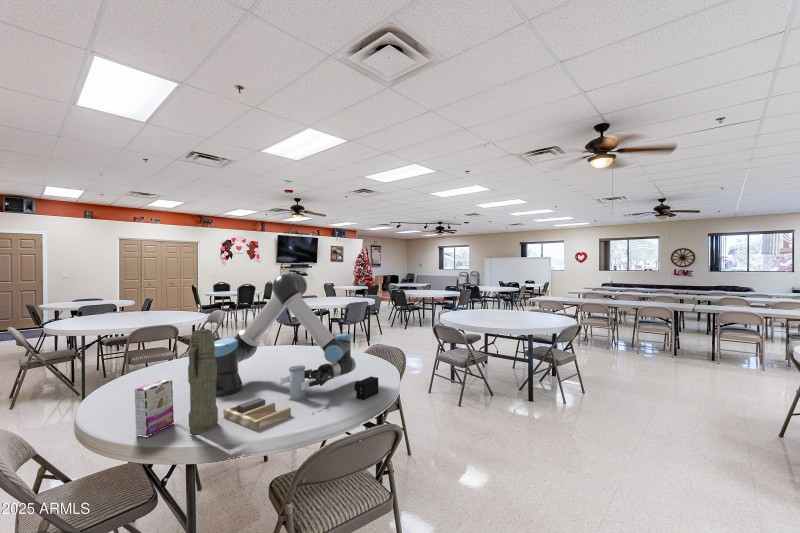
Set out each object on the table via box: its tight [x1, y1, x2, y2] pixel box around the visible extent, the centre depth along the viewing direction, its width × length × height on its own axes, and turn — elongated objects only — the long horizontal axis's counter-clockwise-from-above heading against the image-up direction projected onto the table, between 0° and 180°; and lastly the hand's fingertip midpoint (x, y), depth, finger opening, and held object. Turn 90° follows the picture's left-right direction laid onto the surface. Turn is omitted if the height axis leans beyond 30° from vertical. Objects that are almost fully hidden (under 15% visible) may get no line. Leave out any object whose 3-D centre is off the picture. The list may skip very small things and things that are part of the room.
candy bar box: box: [134, 378, 175, 436], centre depth 125 cm, size 11×5×16 cm, turn 168°
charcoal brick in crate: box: [237, 397, 266, 414], centre depth 136 cm, size 4×9×4 cm, turn 145°
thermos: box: [187, 328, 219, 436], centre depth 125 cm, size 9×12×35 cm
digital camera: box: [354, 375, 380, 401], centre depth 156 cm, size 10×5×7 cm, turn 146°
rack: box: [223, 397, 292, 431], centre depth 133 cm, size 20×14×4 cm
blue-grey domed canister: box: [288, 364, 307, 401], centre depth 152 cm, size 7×7×14 cm
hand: (291, 383), depth 149 cm, fingers open, 13 cm apart
